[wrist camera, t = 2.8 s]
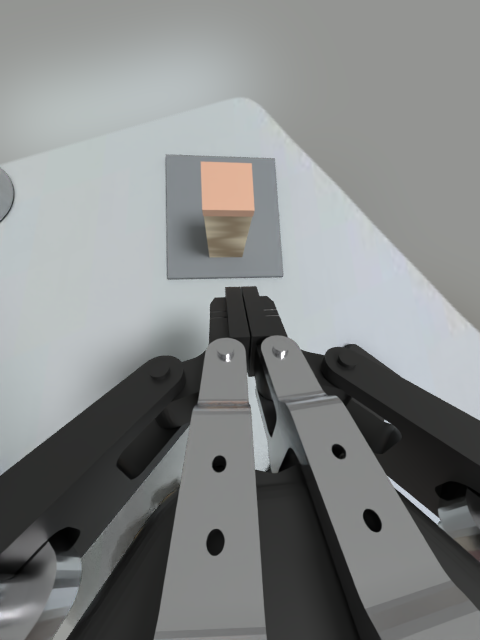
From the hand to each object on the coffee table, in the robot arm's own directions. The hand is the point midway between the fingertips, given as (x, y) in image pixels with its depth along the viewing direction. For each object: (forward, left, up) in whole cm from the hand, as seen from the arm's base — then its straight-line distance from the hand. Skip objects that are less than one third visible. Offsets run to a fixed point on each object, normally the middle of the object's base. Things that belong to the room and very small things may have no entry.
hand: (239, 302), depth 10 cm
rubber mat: (-7, +12, -14) cm, 20 cm away
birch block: (-5, +9, -14) cm, 17 cm away
